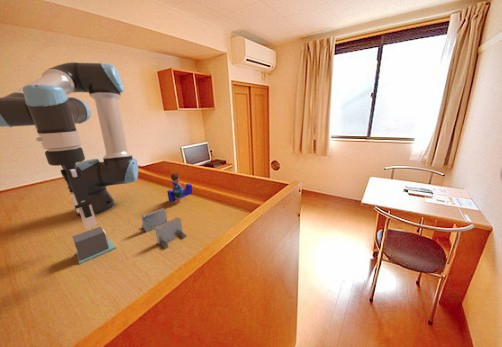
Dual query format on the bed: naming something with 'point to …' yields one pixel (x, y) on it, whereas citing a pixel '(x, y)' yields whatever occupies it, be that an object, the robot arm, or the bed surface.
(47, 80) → the robot arm
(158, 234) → the channel
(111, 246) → the mat
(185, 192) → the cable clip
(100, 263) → the bed surface
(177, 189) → the toy character
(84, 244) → the grey rectangular block
